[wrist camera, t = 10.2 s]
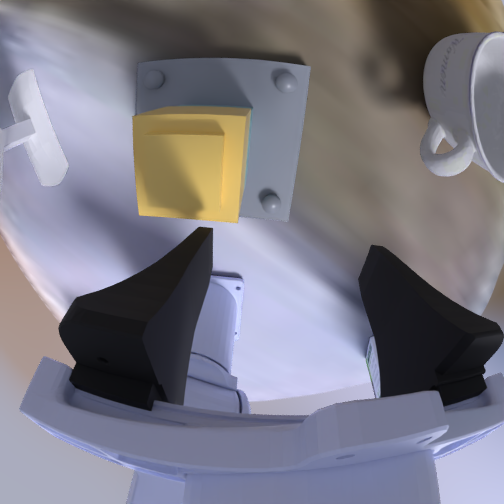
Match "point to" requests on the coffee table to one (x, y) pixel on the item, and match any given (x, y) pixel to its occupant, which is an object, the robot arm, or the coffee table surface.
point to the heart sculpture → (33, 132)
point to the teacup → (465, 103)
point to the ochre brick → (191, 161)
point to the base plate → (242, 89)
